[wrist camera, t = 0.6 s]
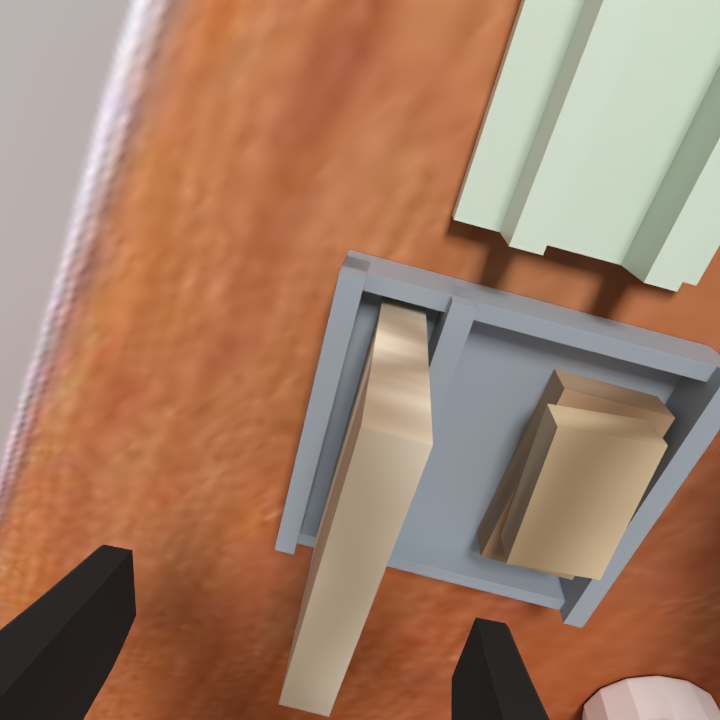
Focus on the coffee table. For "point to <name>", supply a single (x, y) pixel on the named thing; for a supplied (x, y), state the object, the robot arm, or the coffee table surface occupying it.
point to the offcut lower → (557, 392)
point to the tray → (492, 417)
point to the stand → (605, 136)
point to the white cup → (651, 701)
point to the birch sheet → (363, 505)
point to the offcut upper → (579, 490)
